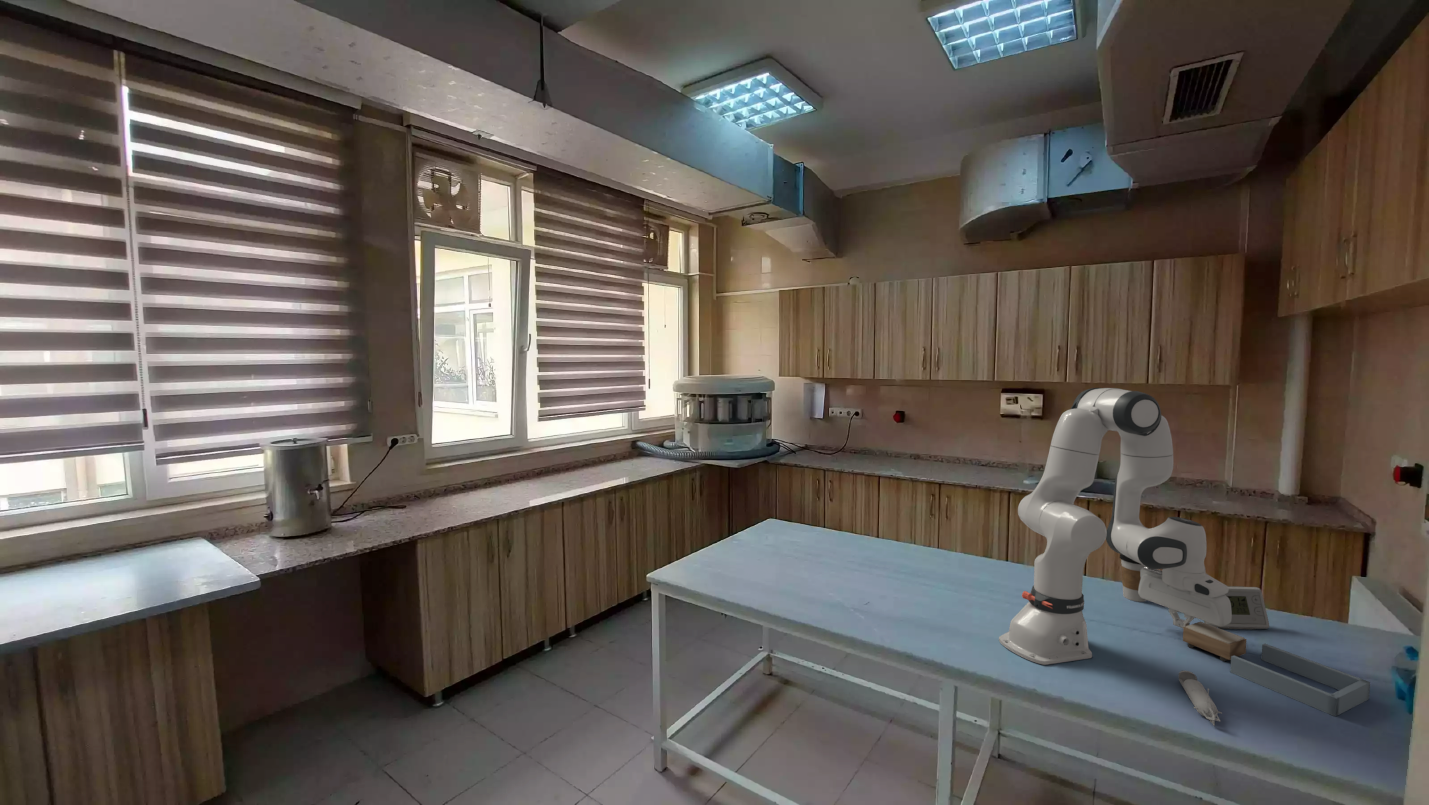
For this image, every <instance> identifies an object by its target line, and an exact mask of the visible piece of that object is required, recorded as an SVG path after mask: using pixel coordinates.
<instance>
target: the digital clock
mask: <svg viewBox="0 0 1429 805" xmlns="http://www.w3.org/2000/svg"><path fill="white" fill-rule="evenodd" d="M1227 586H1228V588H1229V591H1228V593H1227V594H1225V595H1226V596H1227V597H1228V598H1229V600H1230V603H1231V611H1232V620H1231V622H1230V623H1229V624H1227V625H1225V626H1221V627H1220V626H1217V625H1214V624H1212V623H1209V622H1206V621H1203V623H1206V624H1209V625H1211V626H1214V627H1217V628H1219V629H1223V630H1224V629H1227V630H1229V629H1231V630H1234V629H1235V630H1256V629H1257V630H1259V629H1260V630H1262V629H1263V630H1266V629H1269V628H1270V623H1269V618H1268V617H1269V616H1268V614H1267V613H1268V612H1267V609H1266V605H1265V601H1264V596H1263V593H1262V589H1261V588H1259V587H1256V586H1243V585H1242V586H1241V585H1239V586H1238V585H1234V586H1233V585H1227Z"/></svg>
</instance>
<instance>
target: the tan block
mask: <svg viewBox="0 0 1429 805" xmlns="http://www.w3.org/2000/svg"><path fill="white" fill-rule="evenodd" d="M1182 629H1183V630H1182V642H1185V643H1186V645H1187V647H1188V648H1189V649H1192V648H1195V647H1197V648H1199V649H1202V650H1204V651H1206V652H1209V653H1211V654H1214V655H1216V656H1219V660H1220V661H1222V662H1226V661H1231V656H1237V657H1241V656H1243V655H1245V654H1247V640H1248V639H1247V638H1245V637H1244V636H1241V635H1239V634H1235V633H1233V632H1230V631H1227V630H1224V629H1223V628H1217V627H1214V626H1211V625H1209V624H1206V623H1204V621H1198V622H1195V623H1192V624H1189V625H1188V626H1186V627H1183V628H1182Z"/></svg>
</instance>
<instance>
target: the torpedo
mask: <svg viewBox="0 0 1429 805" xmlns="http://www.w3.org/2000/svg"><path fill="white" fill-rule="evenodd" d="M1178 681H1179V683H1180V685H1181V686H1182V688H1183V690H1184V691H1185V693H1186V695H1187V697H1188V698H1189V699H1190V701H1191V703H1192V705H1193V709H1196V712H1198V713H1199V714H1200V715H1201V716H1202V717H1205V719H1207V720H1209V722H1210V723H1211V724H1212V725H1213V726H1214V727H1215V725H1216V724H1215V722H1221V719H1220V717H1219V716H1218V714H1223V712H1221V711H1220V710H1218V708H1217V705H1216V704H1215V702H1214V701H1213V699H1212V697H1211V696H1210V694H1209V692H1210V688H1207V690H1206V689H1205V687H1204V685H1203V684H1202V682H1200V681H1199V680H1198V677H1197V675H1196V674H1195V673H1194V672H1192V671H1189V670H1180V671H1179V672H1178Z"/></svg>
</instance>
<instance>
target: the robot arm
mask: <svg viewBox="0 0 1429 805" xmlns="http://www.w3.org/2000/svg"><path fill="white" fill-rule="evenodd" d="M1108 431H1113V432H1117V433H1118V435H1119V437H1120V463H1119V469H1118V471H1117V473H1116V477H1115V480H1114V488H1113V498H1112V500H1113V501H1112V510H1111V517H1110V521H1109V523H1108V525H1107V526H1108V527H1107V526H1106V524H1105V523H1104V521H1103V520H1102V519H1101V518H1100V517H1099V516H1097V515H1096V514H1094V513H1093V512H1092V511H1090V510H1088V509H1087V508H1084V507H1081V506H1078V505H1076V504H1075V500H1076V499H1077V497H1078V495H1079V494H1080V492H1081V491H1083V490H1084V489H1087V488H1089V487H1090V486H1091V485H1093V483H1094V482H1095V481H1094V480H1095V476H1096V471H1097V467H1098V462H1099V458H1100V453H1101V447H1102V441H1103V438H1104V436H1105V435H1106V433H1108ZM1048 451H1049V452H1048V455H1047V459H1046V463H1045V467H1044V470H1043V474H1042V477H1041V478H1040V480H1039V482H1038V483H1037V485H1036V487H1035V488H1034V489H1033V491H1032V492H1030V493H1029V494H1027V495H1025V496H1024V497H1023V498H1022V499H1021V500H1020V502H1019V504H1018V507H1017V514H1018V518H1019V519H1020V521H1022V523H1023V524H1024V525H1026V526H1027V527H1028V528H1029V529H1030V530H1031V531H1033V532H1035V533H1037V534H1039V535H1041V536H1043V537H1045V539H1046V542H1047V543H1046V547H1045V550H1044V553H1041V554H1039V555H1037V556H1036V558H1035V559H1034V562H1033V563H1034V565H1033V566H1034V568H1033V569H1034V571H1033V573H1034V574H1033V585H1032V587H1031V590H1030V592H1028V591H1026V590H1024V591H1022V594H1021V597H1022V598H1023V599H1025V600H1028V602H1027V603H1026V604H1025V605H1024V606H1023V607H1022V609H1020V611H1019V612H1018V613H1017V614H1016V615H1014V617H1013V618H1012V619H1011V620H1010V623H1009V628H1008V631H1007V632H1005V633H1003V634H1001V635H1000V636H999V637H998V641H999V643H1000V644H1001V645H1002V646H1003V647H1005V648H1006V649H1008V650H1009V651H1010V652H1012V653H1013V654H1015V655H1017V656H1019V657H1022V658H1023V659H1026V660H1028V661H1030V662H1033V663H1036V664H1039V665H1043V666H1045V665H1053V664H1059V663H1060V664H1061V663H1067V662H1072V661H1079V660H1087V659H1091V658H1092V657H1093V653H1092V651H1091V649H1090V648H1089V637H1088V628H1087V622H1086V619H1085V617H1084V614H1083V610H1085V609H1084V608H1085V607H1084V606H1085V598H1084V596H1085V595H1084V594H1083V581H1084V580H1083V579H1084V578H1083V577H1084V576H1083V575H1084V568H1085V564H1086V562H1087V559H1088V558H1089V555H1091V553H1092V552H1095V551H1096V550H1099V548H1101V547H1102V546H1103V544H1104V543H1105V541H1106V543H1107V545H1108V547H1109V548H1110V549H1111V550H1112V551H1114V552H1115V553H1116V554H1119V555H1120V554H1122V555H1124V556H1127V557H1128V558H1130V559H1132V560H1134V561H1136V562H1138V563H1140V564H1142V565H1144V566H1146V567H1145V568H1142V569H1141V571H1140V577H1141V580H1140V584H1139V589H1138V594H1139V595H1140V597H1141V598H1143V599H1145V600H1146V601H1148V602H1152V603H1154V604H1157V605H1160V606H1163V607H1165V608H1168V613H1169V615H1170V617H1171V618H1172V624H1173V626H1175V627H1178V628H1180V629H1183V627H1186V626H1188V625H1191V624H1190V623H1191V622H1192V621H1194V619H1195V618H1196V619H1198V620H1201V621H1202V622H1204V621H1206V622H1209V623H1212V624H1214V625H1217V626H1220V627H1221V626H1225V625H1227V624H1229V623H1230V622H1231V620H1232V611H1231V603H1230V600H1229V598H1228V597H1227V596H1226V595H1225V594H1227V593H1228V591H1229V588H1228V586H1229V585H1226V584H1225V583H1223V582H1221V581H1219V580H1218V579H1216V578H1214V577H1212V576H1211V575H1209V574H1208V573H1207V572H1206V566H1205V558H1206V557H1207V534H1206V531H1205V528H1204V526H1203V525H1202V524H1201V523H1199V522H1196V521H1194V520H1191V519H1188V518H1185V517H1180V516H1169V517H1167V519H1166V520H1165V521H1164V522H1162V523H1161V524H1159V525H1157V526H1155V527H1152V528H1148V527H1146V526H1144V524H1143V523H1142V522H1141V520H1140V511H1141V501H1142V500H1141V499H1142V494H1143V492H1144V491H1145V490H1146V489H1147V488H1153V487H1156V486H1159V485H1161V484H1163V483H1165V482H1167V480H1169V479H1170V478H1171V476H1172V474H1173V469H1174V447H1173V439H1172V432H1171V428H1170V425H1169V422H1168V420H1167V418H1166V417H1165V416H1163V415H1162V411H1161V407H1160V405H1159V403H1158V401H1157V400H1156V399H1155V397H1153V396H1152V395H1150V394H1147V393H1145V392H1141V391H1139V390H1127V389H1122V388H1117V387H1103V388H1102V387H1092V388H1088V389H1085V390H1083V391H1081V392H1080V393H1079V394H1078V395H1077V396H1076V398H1075V399H1074V400H1073V403H1072V406H1071V407H1070V409H1067V410H1066V411H1064V412H1062V414H1061V415H1060V417H1059V419H1058V421H1057V423H1056V426H1055V428H1054V432H1053V434H1052V437H1051V442H1050V446H1049V450H1048ZM1179 613H1181V614H1183V616H1184V618H1185V619H1182V618H1180V616H1179Z"/></svg>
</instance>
